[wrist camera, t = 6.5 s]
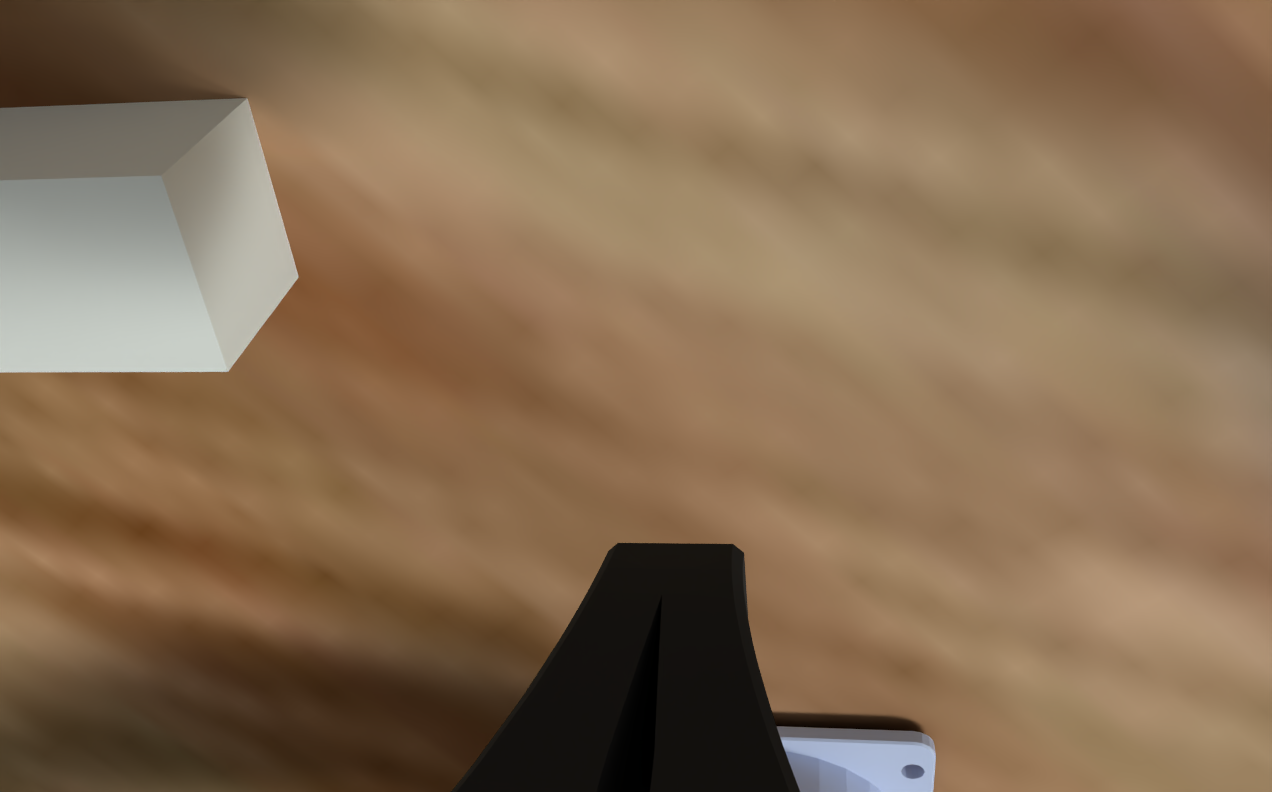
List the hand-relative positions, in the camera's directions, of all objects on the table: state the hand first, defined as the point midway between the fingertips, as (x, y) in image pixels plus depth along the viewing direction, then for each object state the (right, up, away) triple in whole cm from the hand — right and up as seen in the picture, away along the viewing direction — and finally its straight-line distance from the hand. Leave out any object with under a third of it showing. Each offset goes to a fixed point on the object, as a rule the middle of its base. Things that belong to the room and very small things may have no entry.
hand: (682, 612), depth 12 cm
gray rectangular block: (-13, +6, +10) cm, 17 cm away
